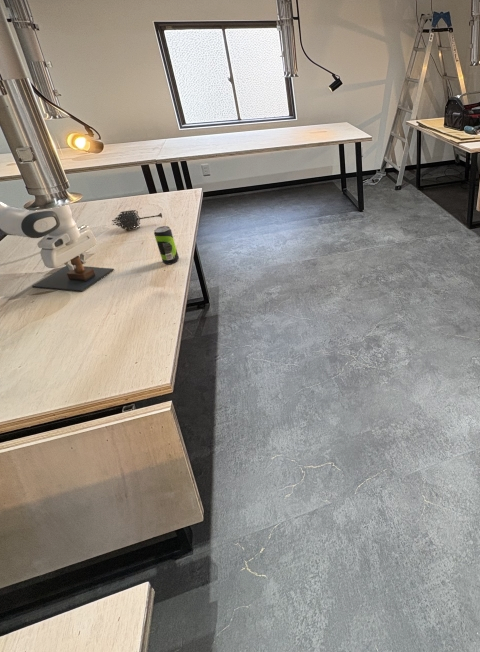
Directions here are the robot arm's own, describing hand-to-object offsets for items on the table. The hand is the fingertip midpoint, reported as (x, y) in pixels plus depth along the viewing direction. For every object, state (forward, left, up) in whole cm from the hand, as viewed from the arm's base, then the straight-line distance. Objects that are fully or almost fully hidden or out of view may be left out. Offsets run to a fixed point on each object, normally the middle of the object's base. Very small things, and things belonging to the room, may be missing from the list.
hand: (78, 266), depth 159 cm
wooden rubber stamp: (0, 0, -5) cm, 5 cm away
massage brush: (-12, +47, -6) cm, 49 cm away
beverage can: (+26, +18, -6) cm, 32 cm away
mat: (-4, 0, -6) cm, 7 cm away
